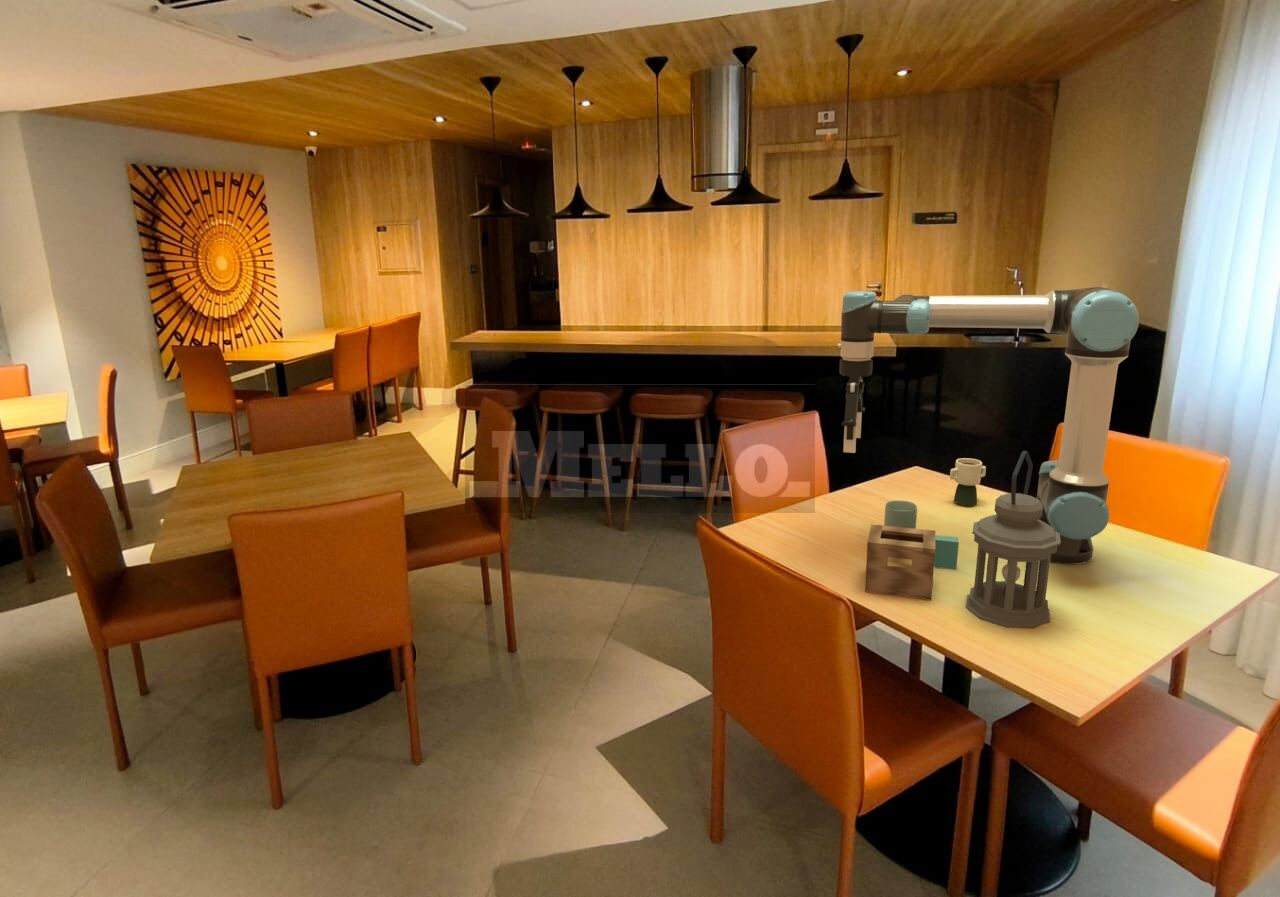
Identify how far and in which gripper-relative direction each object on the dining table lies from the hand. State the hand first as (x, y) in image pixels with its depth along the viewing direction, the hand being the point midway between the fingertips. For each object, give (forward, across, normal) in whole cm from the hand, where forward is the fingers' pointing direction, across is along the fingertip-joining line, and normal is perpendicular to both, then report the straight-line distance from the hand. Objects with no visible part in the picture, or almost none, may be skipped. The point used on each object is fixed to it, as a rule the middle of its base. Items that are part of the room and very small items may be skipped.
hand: (852, 444), depth 184 cm
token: (+28, +3, +22) cm, 36 cm away
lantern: (+28, +22, +35) cm, 50 cm away
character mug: (+28, -43, +29) cm, 59 cm away
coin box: (+28, +17, +13) cm, 35 cm away
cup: (+28, -9, +12) cm, 32 cm away
